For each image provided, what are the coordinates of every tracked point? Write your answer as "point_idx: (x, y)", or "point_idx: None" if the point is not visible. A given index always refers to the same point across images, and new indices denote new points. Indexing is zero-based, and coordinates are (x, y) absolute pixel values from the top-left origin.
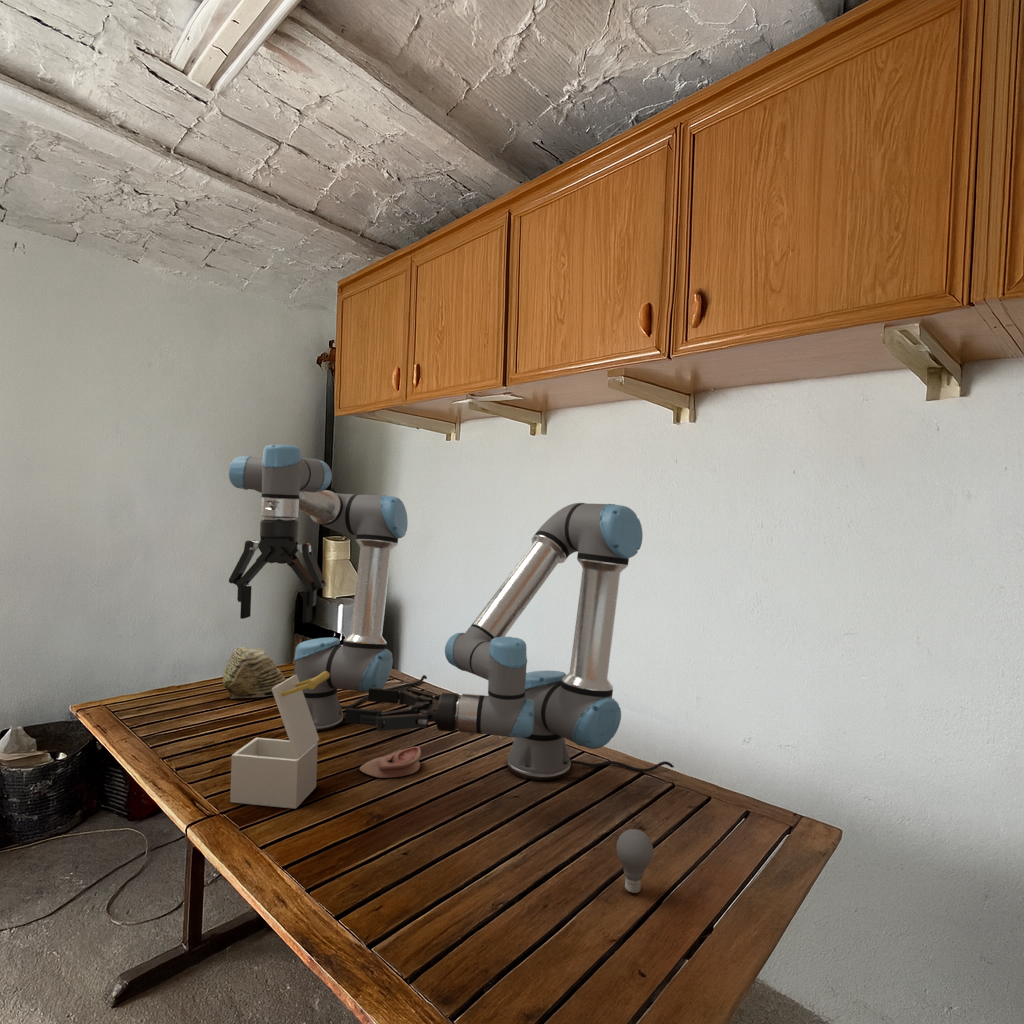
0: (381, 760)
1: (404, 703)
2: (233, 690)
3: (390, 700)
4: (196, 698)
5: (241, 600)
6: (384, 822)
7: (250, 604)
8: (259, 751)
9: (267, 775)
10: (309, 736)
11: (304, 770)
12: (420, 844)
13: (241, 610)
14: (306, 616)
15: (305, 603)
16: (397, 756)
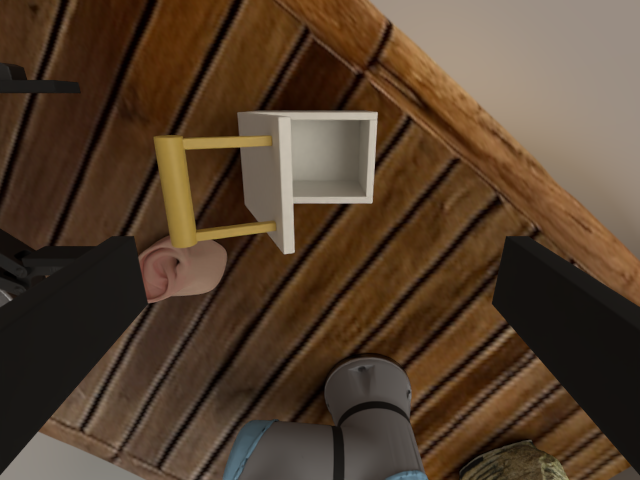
0: (182, 253)
1: (23, 244)
2: (532, 449)
3: (57, 249)
4: (583, 432)
5: (610, 293)
6: (110, 97)
7: (532, 346)
8: (359, 191)
9: (304, 111)
10: (246, 177)
11: None
12: (26, 41)
13: (553, 256)
14: (88, 255)
15: (25, 296)
16: (167, 274)
